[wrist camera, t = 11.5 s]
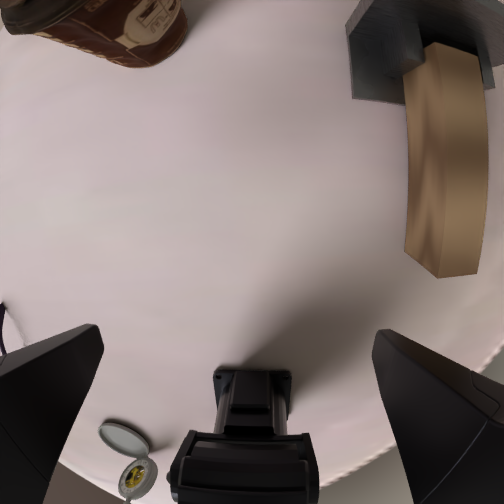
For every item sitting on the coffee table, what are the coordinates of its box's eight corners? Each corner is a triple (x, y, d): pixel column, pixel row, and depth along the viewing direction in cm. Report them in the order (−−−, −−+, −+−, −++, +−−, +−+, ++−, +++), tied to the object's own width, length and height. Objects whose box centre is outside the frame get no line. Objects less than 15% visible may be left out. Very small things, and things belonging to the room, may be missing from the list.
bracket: (482, 125, 16) (565, 122, 7) (352, 98, 17) (417, 54, 8) (474, 60, 15) (546, 35, 6) (345, 25, 15) (391, -47, 6)
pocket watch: (100, 412, 26) (66, 474, 17) (168, 440, 27) (147, 510, 17) (101, 443, 29) (75, 497, 19) (159, 467, 29) (141, 526, 20)
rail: (440, 249, 19) (476, 273, 15) (404, 251, 20) (437, 278, 15) (439, 70, 15) (477, 56, 10) (400, 61, 15) (434, 42, 10)
